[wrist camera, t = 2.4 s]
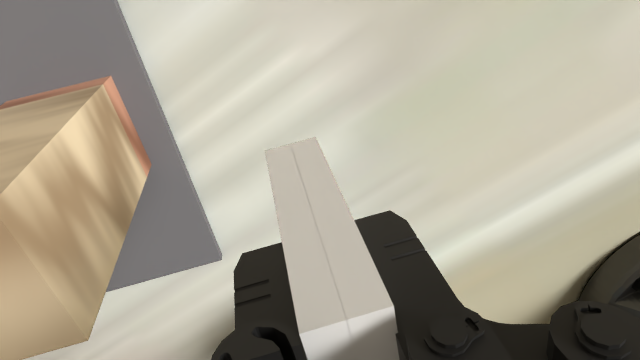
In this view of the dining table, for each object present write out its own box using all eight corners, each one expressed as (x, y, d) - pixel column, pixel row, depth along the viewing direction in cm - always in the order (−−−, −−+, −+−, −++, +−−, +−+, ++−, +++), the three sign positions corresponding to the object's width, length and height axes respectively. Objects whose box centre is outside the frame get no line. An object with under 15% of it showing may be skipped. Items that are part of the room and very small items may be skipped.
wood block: (151, 164, 23) (88, 340, 13) (59, 188, 23) (-83, 389, 12) (111, 75, 21) (-10, 205, 10) (6, 101, 20) (-227, 261, 10)
